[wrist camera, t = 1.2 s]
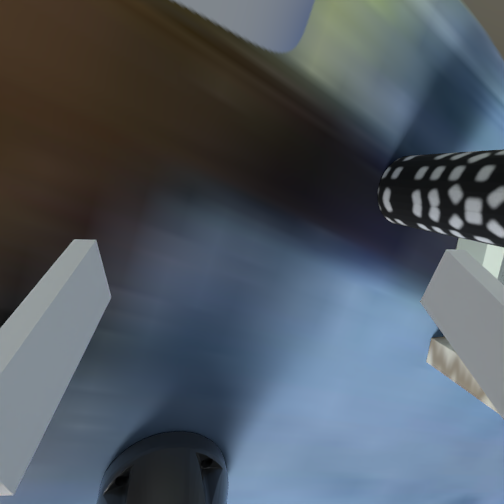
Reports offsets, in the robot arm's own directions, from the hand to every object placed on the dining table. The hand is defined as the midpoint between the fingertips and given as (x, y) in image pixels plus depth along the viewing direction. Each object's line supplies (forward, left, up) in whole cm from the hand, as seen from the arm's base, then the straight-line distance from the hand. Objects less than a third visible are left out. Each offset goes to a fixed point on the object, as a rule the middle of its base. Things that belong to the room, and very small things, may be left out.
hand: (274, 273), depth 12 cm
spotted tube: (+3, -25, -21) cm, 33 cm away
